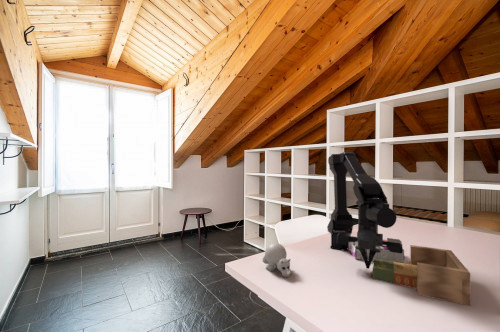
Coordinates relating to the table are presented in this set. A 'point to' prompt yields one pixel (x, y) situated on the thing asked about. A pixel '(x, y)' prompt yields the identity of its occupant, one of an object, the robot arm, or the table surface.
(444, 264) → the book slot
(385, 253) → the candy bar box
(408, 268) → the carton
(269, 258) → the chubby cartoon animal
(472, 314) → the table surface
